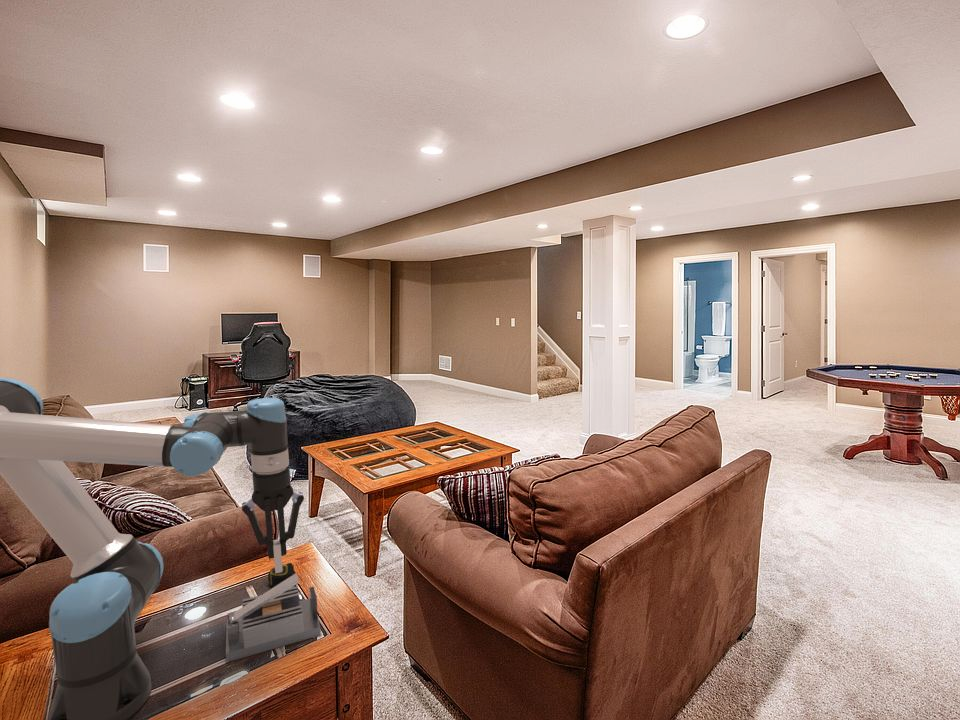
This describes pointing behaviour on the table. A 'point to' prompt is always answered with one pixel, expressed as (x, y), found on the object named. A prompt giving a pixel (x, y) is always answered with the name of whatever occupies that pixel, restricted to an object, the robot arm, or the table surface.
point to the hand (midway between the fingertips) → (278, 569)
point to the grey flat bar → (263, 599)
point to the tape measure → (280, 574)
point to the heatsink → (273, 625)
